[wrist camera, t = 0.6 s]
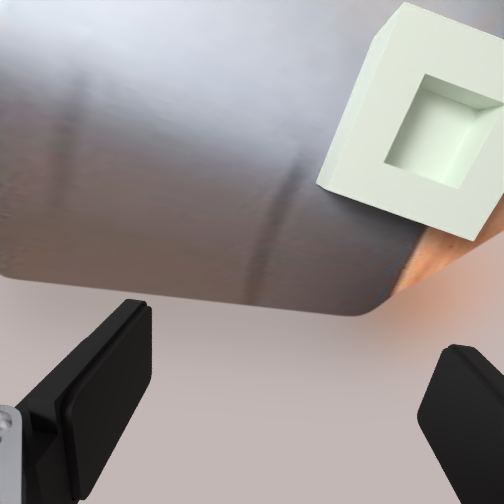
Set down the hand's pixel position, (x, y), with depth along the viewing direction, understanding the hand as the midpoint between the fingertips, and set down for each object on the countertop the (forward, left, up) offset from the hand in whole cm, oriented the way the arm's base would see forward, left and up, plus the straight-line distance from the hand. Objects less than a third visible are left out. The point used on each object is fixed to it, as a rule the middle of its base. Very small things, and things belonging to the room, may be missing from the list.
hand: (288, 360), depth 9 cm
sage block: (-12, +12, -29) cm, 34 cm away
